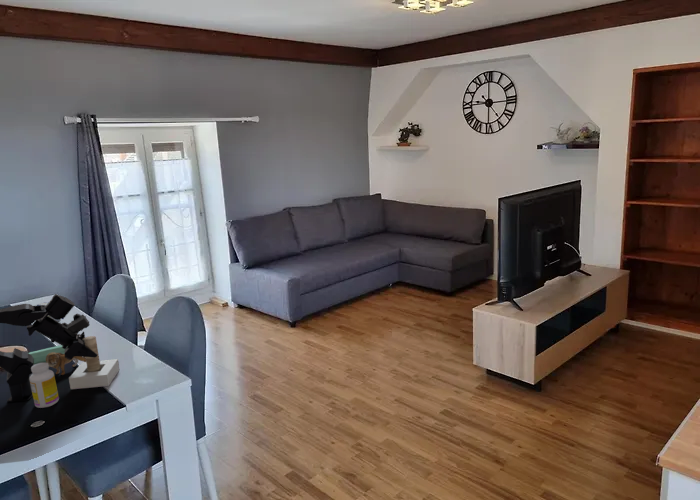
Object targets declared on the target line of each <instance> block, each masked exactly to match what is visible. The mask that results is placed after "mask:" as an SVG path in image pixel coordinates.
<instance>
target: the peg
mask: <svg viewBox="0 0 700 500" xmlns="http://www.w3.org/2000/svg"><path fill="white" fill-rule="evenodd" d="M84 339H85V345H86V346H87V347H89V348H90V349H91V350H93V351H94V352H95V353H96V354H97V356H96V357H85V358H86V363H87V369H88V372H98V371H101V367H100V361H101V360H100V355H99V349H98V342H97V337H96V336H94V335H90V336H85V338H84ZM84 339H83V340H84Z"/></svg>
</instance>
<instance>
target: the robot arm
mask: <svg viewBox="0 0 700 500" xmlns="http://www.w3.org/2000/svg"><path fill="white" fill-rule="evenodd" d="M48 302H49V303H48V304H47V305H37V304H36V305H32V304H31V303H20V304H16V305H15V304H14V305H12V306H8V307H5V308H0V324H6V325H10V326H18V327H19V326H21V327H26V330H27V332H28V333H27V334H28V336H30V337H31V336H32V335H33V334H34V333H35V332H37V333H38V334H40V335H42V336H44V337H46V338H47V339H49V340H50V342H51V343H53V344H54V343H57V344H58V345H59V346H60V345H62V348H63V349H65V351H64V355H65V358H67V359H68V360H72V358H73V357H74V356H79V357H85V358H86V357H96V356H97V354H96V353H95V352H94V351H93V350H91V349H90V348H89V347H87V346H86V345H85V339H84V338H85V337H86V334H85V331H83V330H84V329H87V328H88V327H89V326H90V321H89V320H88V318H87V317H86V315H85V314H80V313H77V312H76V314H74V315H73V317H72V318H73V320H70V322H69V323H66V322H62V323H61V322H60V321H61V320H64V318H66V317H67V315H68V314H69V313H70V312H71V310H73V308H74V307H75V306H76V304H75V302H73V301H72V300H70V299H69V298H68V297H66V296H65V297H64V296H63V295H59V294H57V293H54V295H53V296H52V298H51V299H50V301H48ZM48 315H49V316H51V317H52V318H54V319H56V320H60V319H61V320H60V321H59V322H58V321H56V320H54V319H52V318H51V317H49V316H48ZM79 332H82V333H81V334H80V333H79ZM83 339H84V340H83ZM67 346H68V347H67ZM66 347H67V348H66ZM28 353H29V351H28V350H25V351H24V350H20V349H19V348H15V347H14V349H13V351H11V352H9V351H8V352H5V351H2V350H0V369H2V370H4V371H5V372H7V373H6V383H7V385H8V387H9V393H10V397H9V398H7V400H6V402H7V403H12V402H22V401H23V402H24V401H29V400H30V399H31V398H33V394H32V389H31V385H30V380H29V378H30V376H31V375H32V374H33V373H32V371H31V367H32V366H33V365H34V358H33V357H32V355H30V354H28ZM72 361H73V360H72Z"/></svg>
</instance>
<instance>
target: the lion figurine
mask: <svg viewBox="0 0 700 500" xmlns="http://www.w3.org/2000/svg"><path fill="white" fill-rule="evenodd" d="M72 361H74V364H72V366H71V367H76V366H77V365H78V363H79V361H80V362H86V357H79V356H74V357H73V358H72V360H68V359H67V358H65V355H64V354H61V353H55V352H52V353H49V354H48V355H47V356H46V362H45V363H48V365H49V368H50V367H51V368H52V369H56V372H55V374H56V375H58V374H60V375H62V376H64V375H65V374H66V370H65V365H67V364H69V363H71V362H72ZM60 372H61V373H60Z"/></svg>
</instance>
